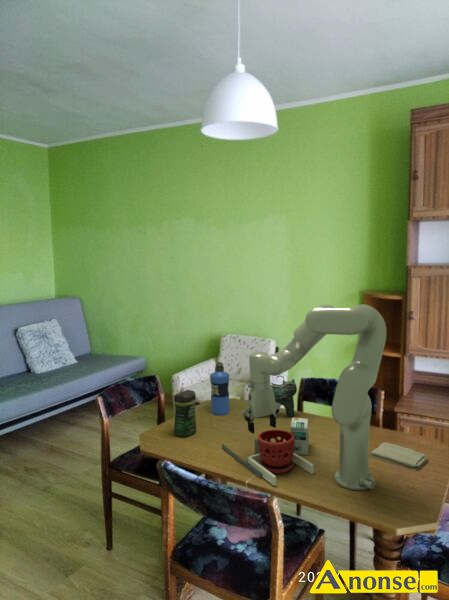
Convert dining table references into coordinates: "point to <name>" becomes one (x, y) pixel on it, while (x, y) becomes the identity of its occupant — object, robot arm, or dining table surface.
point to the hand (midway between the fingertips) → (262, 429)
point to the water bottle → (219, 391)
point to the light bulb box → (300, 435)
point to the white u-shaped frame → (266, 474)
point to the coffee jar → (185, 413)
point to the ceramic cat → (285, 395)
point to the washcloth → (399, 455)
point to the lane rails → (243, 461)
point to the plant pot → (276, 450)
